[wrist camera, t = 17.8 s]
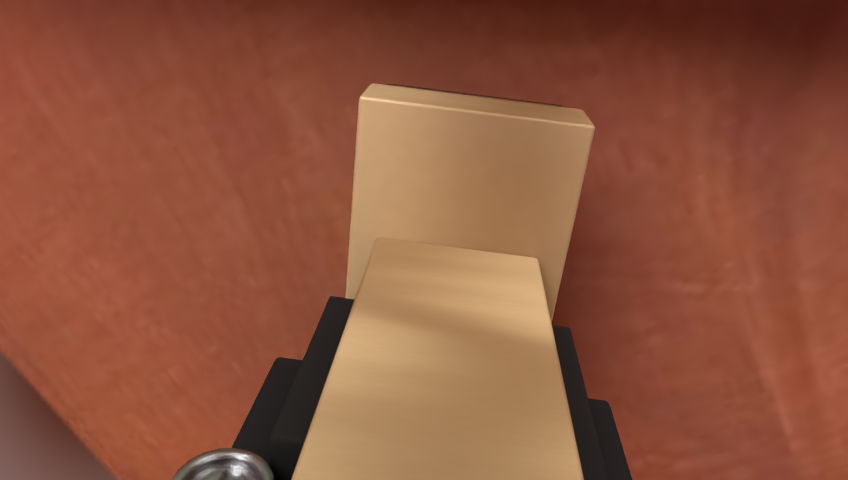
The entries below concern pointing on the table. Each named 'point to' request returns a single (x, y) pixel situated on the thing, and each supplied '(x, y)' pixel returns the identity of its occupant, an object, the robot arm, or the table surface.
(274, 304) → the table surface
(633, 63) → the table surface
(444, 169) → the brush
